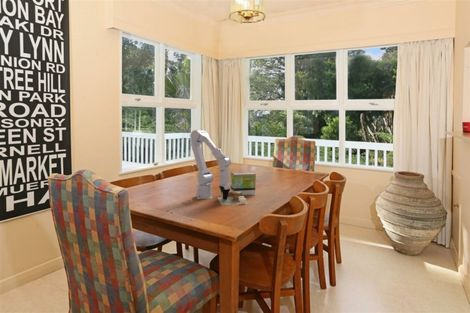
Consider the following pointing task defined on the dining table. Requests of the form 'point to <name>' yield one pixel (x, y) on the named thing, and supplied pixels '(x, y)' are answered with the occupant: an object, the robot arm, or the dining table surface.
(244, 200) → the winding board
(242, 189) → the tea box
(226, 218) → the dining table surface
